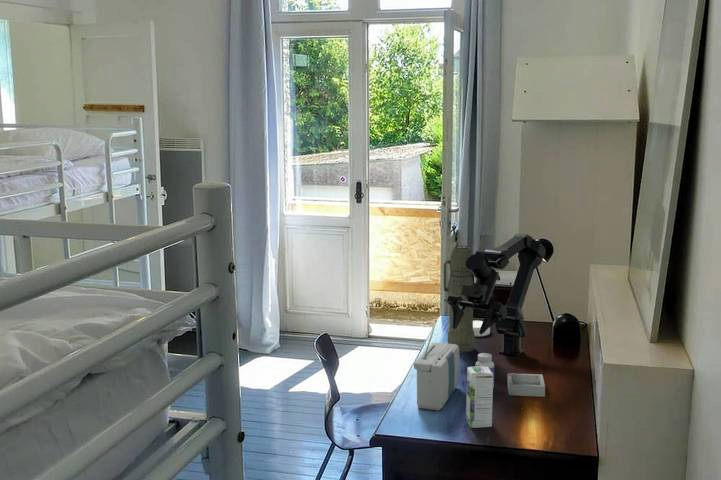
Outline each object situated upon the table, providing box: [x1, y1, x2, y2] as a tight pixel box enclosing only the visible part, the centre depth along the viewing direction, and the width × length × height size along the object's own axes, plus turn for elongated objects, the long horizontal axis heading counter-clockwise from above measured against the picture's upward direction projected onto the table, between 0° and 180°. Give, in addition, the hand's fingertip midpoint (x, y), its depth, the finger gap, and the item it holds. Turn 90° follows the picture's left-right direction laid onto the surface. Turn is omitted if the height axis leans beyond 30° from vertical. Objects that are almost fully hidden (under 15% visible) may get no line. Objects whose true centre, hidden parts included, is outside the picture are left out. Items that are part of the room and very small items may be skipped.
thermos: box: [443, 245, 477, 354], centre depth 258 cm, size 9×12×35 cm
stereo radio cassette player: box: [413, 320, 461, 412], centre depth 216 cm, size 21×8×20 cm, turn 160°
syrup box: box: [465, 366, 494, 429], centre depth 198 cm, size 6×6×14 cm
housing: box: [507, 372, 546, 398], centre depth 222 cm, size 10×10×3 cm
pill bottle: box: [474, 352, 495, 388], centre depth 225 cm, size 5×5×10 cm
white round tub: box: [473, 320, 491, 337], centre depth 280 cm, size 10×10×4 cm
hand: (467, 331), depth 233 cm, fingers open, 9 cm apart
